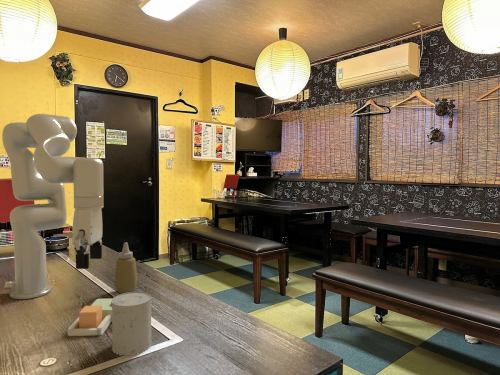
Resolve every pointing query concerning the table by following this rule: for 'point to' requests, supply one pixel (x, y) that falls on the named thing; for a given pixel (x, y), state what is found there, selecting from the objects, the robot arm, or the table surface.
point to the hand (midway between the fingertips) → (89, 263)
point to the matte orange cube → (90, 317)
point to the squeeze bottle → (125, 271)
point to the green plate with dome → (106, 320)
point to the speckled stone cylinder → (131, 323)
